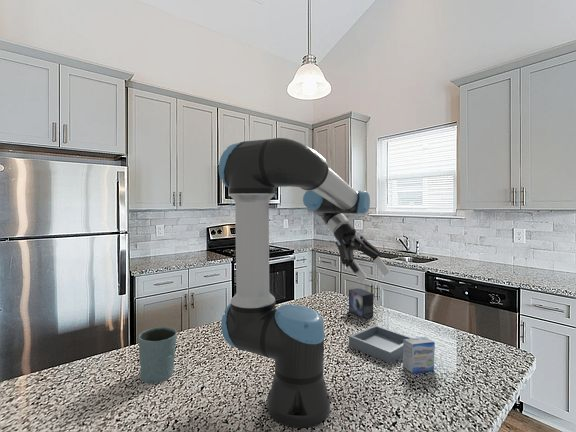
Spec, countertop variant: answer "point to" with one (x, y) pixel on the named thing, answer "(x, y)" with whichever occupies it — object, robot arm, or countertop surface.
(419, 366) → the medicine box
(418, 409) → the countertop surface
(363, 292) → the small box
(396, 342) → the grey tray
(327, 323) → the countertop surface
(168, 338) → the teal cup
